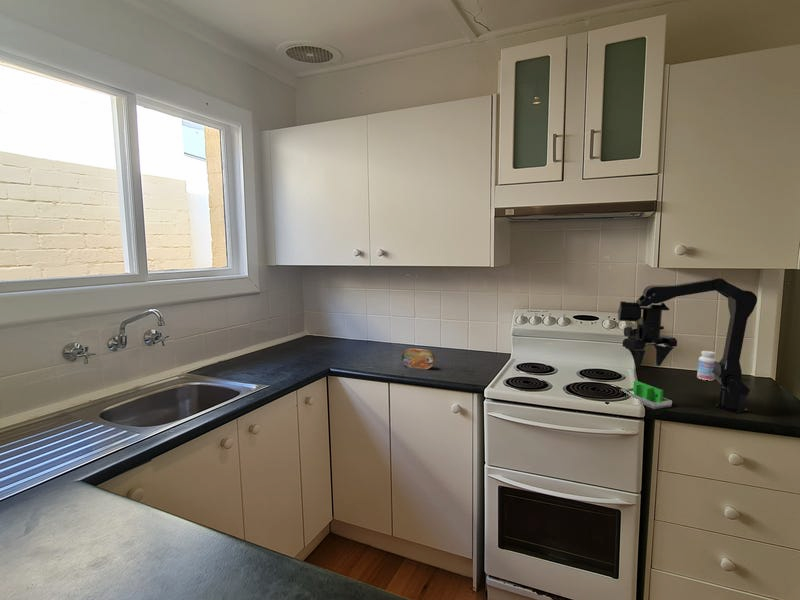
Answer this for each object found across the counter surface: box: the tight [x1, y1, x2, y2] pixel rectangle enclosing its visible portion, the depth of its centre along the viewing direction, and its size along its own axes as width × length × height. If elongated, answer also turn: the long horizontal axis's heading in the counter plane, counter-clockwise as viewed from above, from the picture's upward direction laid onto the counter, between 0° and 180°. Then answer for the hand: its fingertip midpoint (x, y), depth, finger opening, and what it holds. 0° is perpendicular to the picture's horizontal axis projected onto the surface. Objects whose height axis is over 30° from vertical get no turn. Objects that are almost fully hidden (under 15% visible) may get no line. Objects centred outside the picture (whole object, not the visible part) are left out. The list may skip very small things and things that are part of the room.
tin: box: [401, 347, 436, 370], centre depth 192 cm, size 15×3×8 cm, turn 65°
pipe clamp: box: [632, 380, 664, 402], centre depth 153 cm, size 11×4×5 cm, turn 18°
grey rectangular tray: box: [619, 387, 673, 410], centre depth 153 cm, size 15×8×2 cm, turn 18°
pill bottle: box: [696, 350, 718, 382], centre depth 178 cm, size 6×6×11 cm
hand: (648, 366), depth 153 cm, fingers open, 9 cm apart
